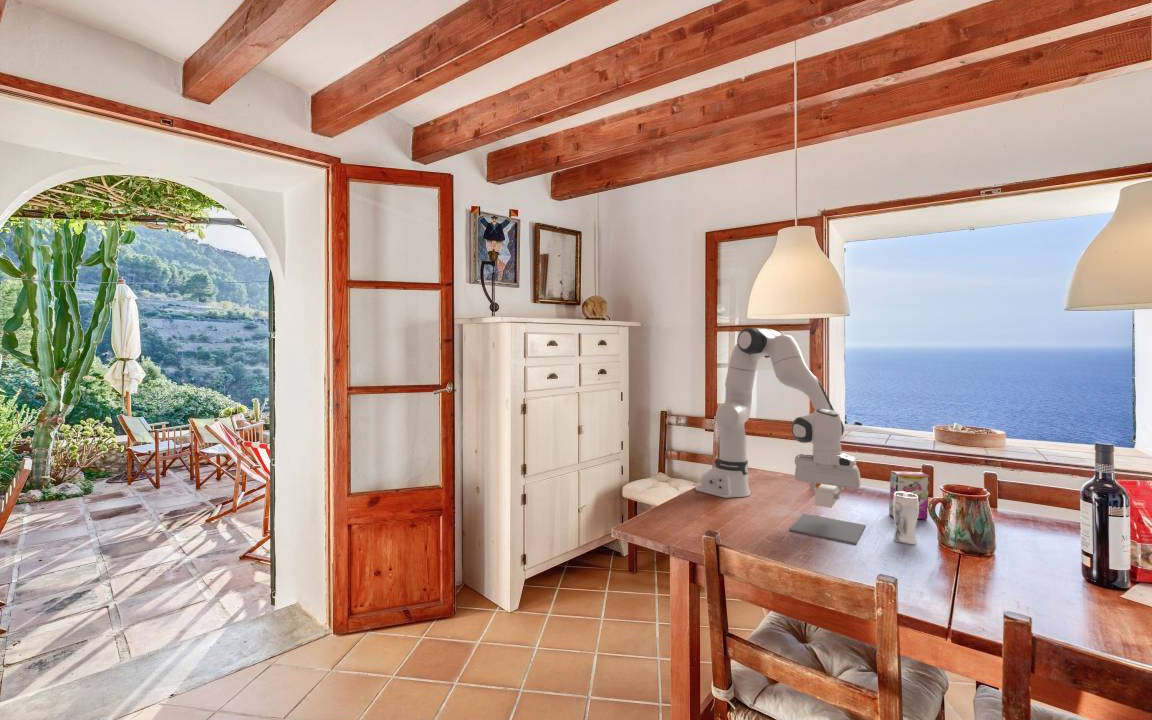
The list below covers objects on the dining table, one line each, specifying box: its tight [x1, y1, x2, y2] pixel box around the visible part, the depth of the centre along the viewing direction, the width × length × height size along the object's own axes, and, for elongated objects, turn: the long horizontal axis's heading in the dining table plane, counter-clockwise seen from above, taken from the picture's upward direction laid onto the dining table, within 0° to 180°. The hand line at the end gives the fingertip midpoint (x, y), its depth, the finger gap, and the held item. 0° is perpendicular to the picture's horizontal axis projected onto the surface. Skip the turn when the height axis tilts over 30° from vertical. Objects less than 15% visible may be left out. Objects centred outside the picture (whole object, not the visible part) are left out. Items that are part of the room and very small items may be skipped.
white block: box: [814, 484, 839, 509], centre depth 178 cm, size 5×5×14 cm
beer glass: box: [893, 492, 919, 546], centre depth 165 cm, size 7×7×15 cm
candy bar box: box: [888, 470, 930, 521], centre depth 187 cm, size 11×5×16 cm, turn 84°
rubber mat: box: [788, 513, 866, 546], centre depth 176 cm, size 20×20×1 cm
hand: (826, 497), depth 177 cm, fingers closed on white block, 5 cm apart
